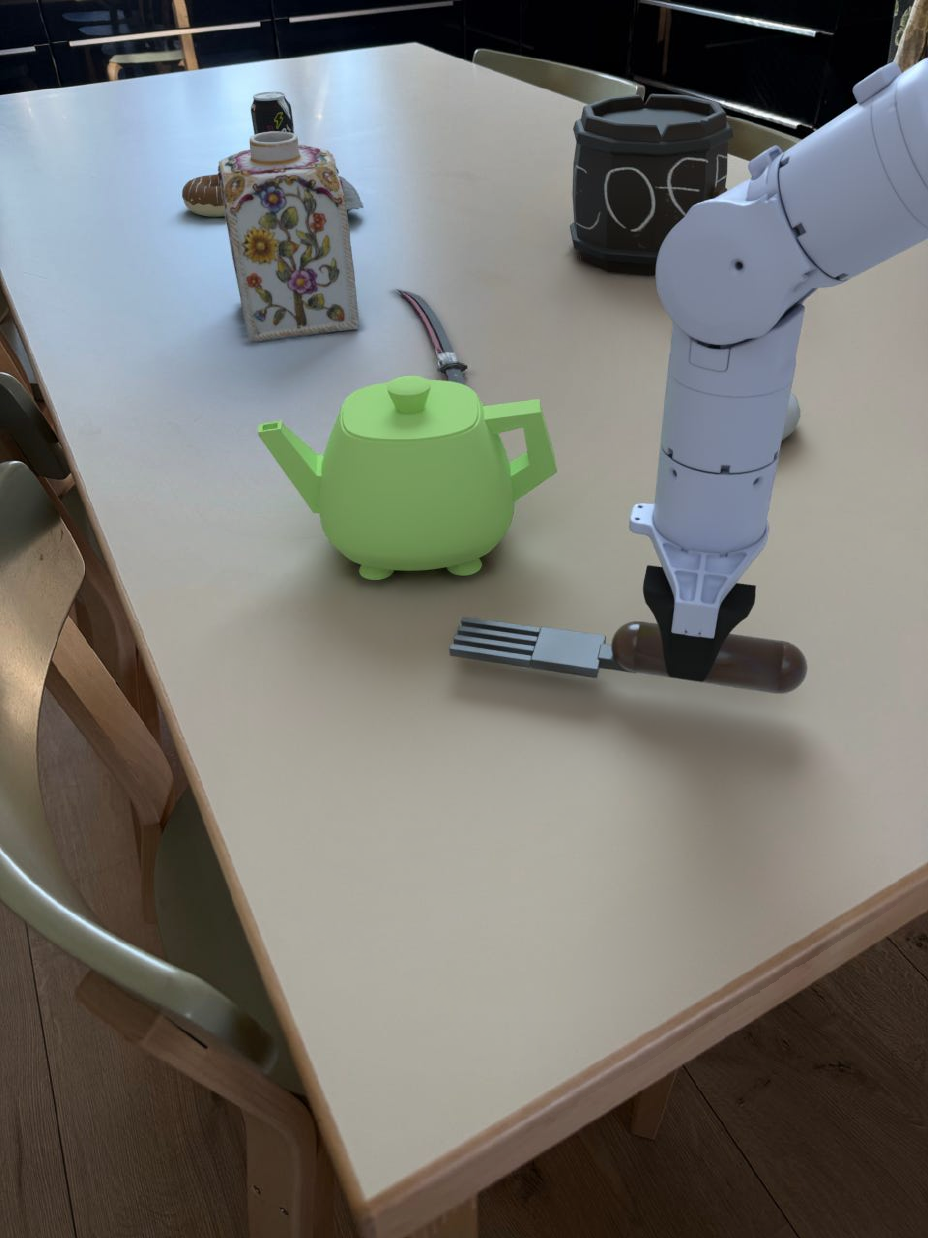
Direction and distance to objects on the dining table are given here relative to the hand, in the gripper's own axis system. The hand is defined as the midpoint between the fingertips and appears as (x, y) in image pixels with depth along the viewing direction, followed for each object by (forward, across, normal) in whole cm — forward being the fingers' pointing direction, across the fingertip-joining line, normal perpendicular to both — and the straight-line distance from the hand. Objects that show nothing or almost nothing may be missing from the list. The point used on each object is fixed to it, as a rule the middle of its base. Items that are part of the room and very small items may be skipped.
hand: (689, 655), depth 57 cm
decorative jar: (+3, -50, -46) cm, 68 cm away
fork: (+1, 0, -4) cm, 4 cm away
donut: (+3, -34, +1) cm, 34 cm away
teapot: (+3, -12, -20) cm, 24 cm away
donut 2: (+3, -85, -71) cm, 111 cm away
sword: (+3, -46, -30) cm, 55 cm away
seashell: (+3, -84, -55) cm, 100 cm away
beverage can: (+3, -98, -68) cm, 119 cm away
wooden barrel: (+3, -76, -12) cm, 77 cm away
